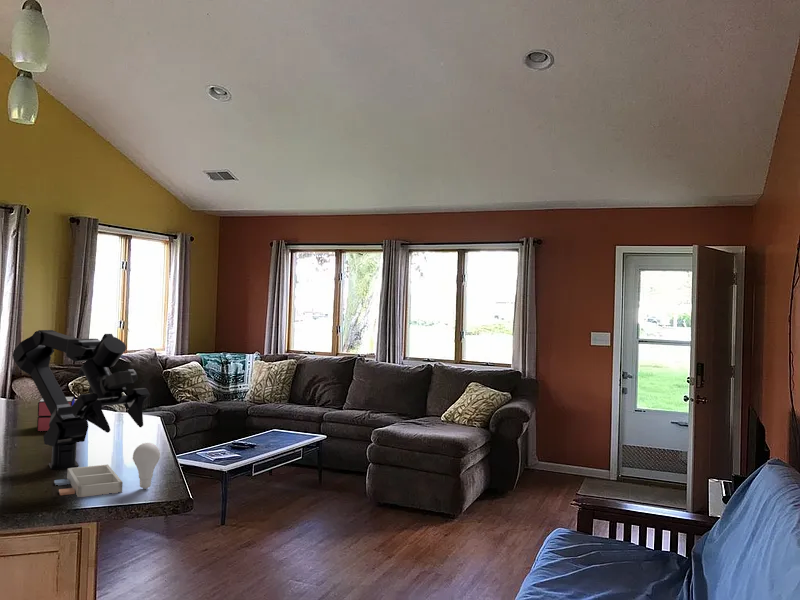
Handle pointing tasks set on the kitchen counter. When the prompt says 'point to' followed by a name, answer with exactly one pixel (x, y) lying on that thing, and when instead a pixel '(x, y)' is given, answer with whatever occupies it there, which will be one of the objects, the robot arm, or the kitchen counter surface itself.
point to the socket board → (90, 481)
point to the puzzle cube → (47, 414)
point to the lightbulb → (146, 462)
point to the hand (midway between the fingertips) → (125, 428)
